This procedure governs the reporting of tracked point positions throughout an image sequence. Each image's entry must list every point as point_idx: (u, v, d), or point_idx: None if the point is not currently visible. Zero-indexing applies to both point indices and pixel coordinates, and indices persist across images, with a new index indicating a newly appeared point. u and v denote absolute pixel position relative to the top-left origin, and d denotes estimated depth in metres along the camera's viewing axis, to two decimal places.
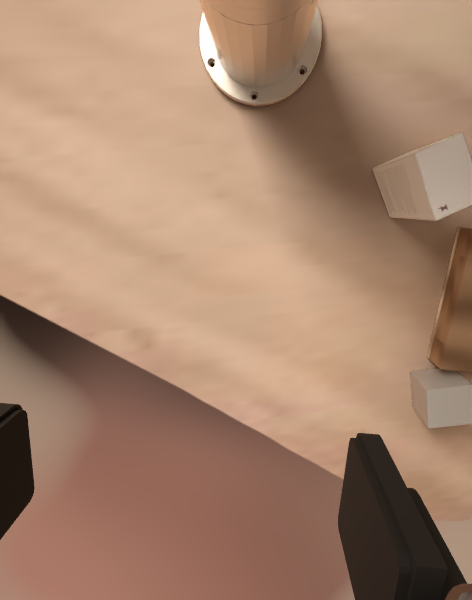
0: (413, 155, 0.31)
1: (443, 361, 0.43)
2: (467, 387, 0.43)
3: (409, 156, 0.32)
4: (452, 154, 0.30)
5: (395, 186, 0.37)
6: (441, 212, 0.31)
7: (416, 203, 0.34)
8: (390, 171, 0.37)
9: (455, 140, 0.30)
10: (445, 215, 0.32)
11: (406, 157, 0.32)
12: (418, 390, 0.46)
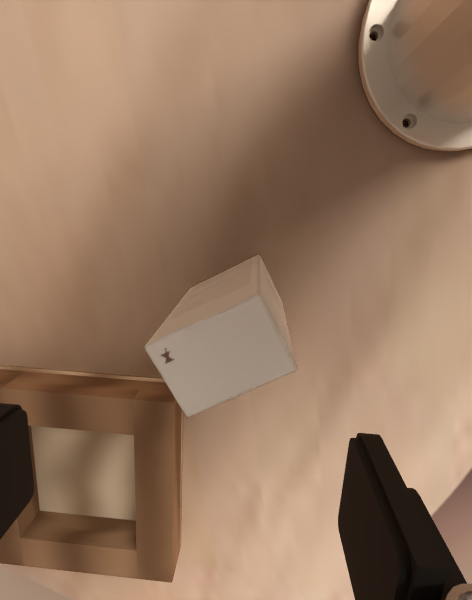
0: (257, 293, 0.16)
1: None
2: None
3: (257, 288, 0.17)
4: (258, 359, 0.17)
5: (223, 282, 0.23)
6: (158, 354, 0.17)
7: (185, 313, 0.20)
8: (246, 272, 0.23)
9: (282, 360, 0.17)
10: (154, 361, 0.17)
11: (257, 285, 0.18)
12: None
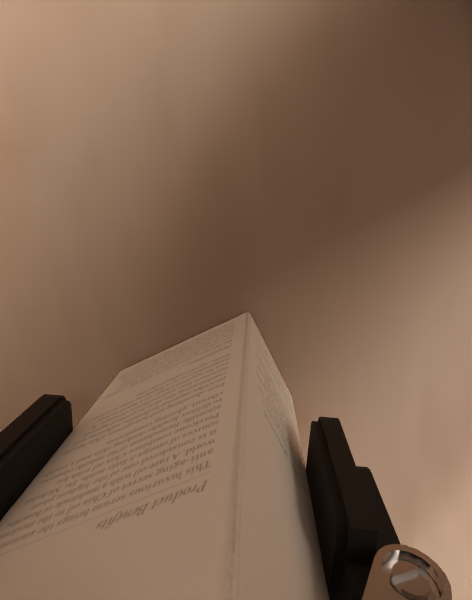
0: None
1: None
2: None
3: (225, 592, 0.04)
4: None
5: (161, 404, 0.10)
6: None
7: (17, 557, 0.06)
8: (213, 383, 0.09)
9: None
10: None
11: (229, 539, 0.05)
12: None
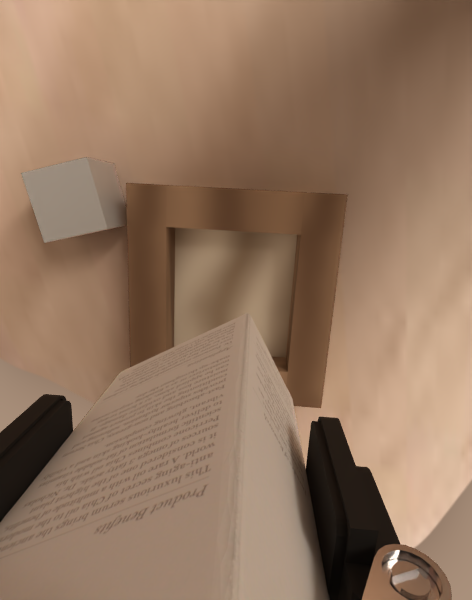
0: None
1: (138, 186, 0.28)
2: (102, 222, 0.27)
3: None
4: None
5: (161, 406, 0.10)
6: None
7: (16, 562, 0.06)
8: (213, 385, 0.09)
9: None
10: None
11: (229, 546, 0.05)
12: None
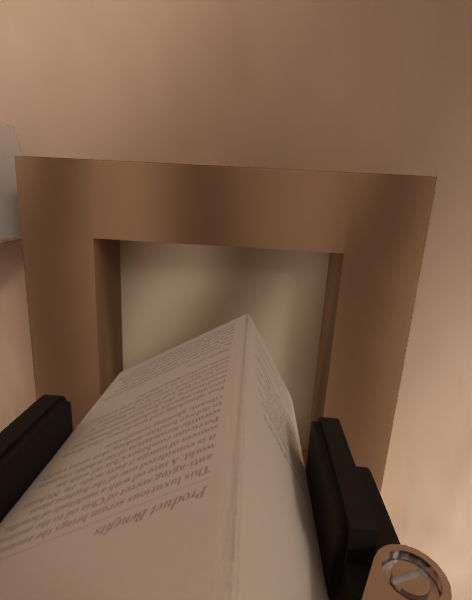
0: None
1: (37, 162, 0.15)
2: None
3: None
4: None
5: (160, 407, 0.10)
6: None
7: (15, 563, 0.06)
8: (213, 386, 0.09)
9: None
10: None
11: (229, 548, 0.05)
12: None
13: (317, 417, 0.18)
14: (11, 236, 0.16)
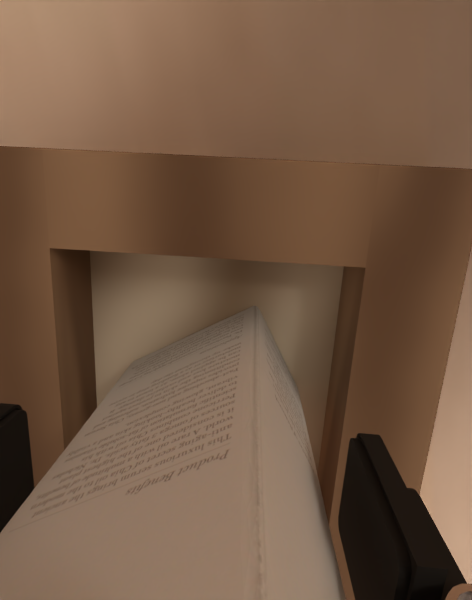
0: None
1: None
2: None
3: (253, 535, 0.05)
4: None
5: (177, 388, 0.10)
6: None
7: (52, 521, 0.07)
8: (227, 368, 0.10)
9: None
10: None
11: (254, 495, 0.05)
12: None
13: (328, 463, 0.15)
14: None
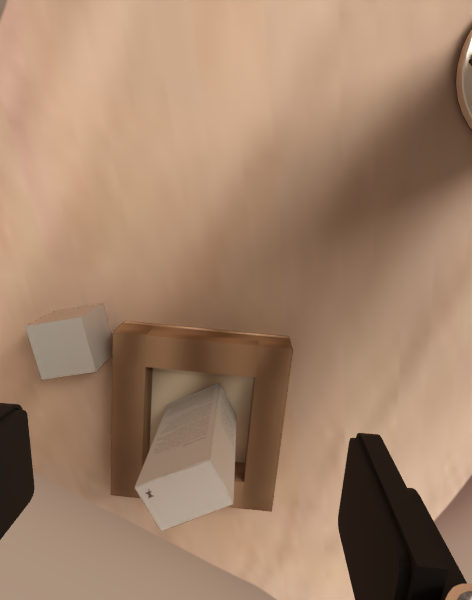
0: (208, 457, 0.26)
1: (122, 335, 0.33)
2: (91, 366, 0.33)
3: (209, 449, 0.27)
4: (208, 497, 0.26)
5: (191, 419, 0.32)
6: (143, 492, 0.26)
7: (163, 453, 0.29)
8: (207, 413, 0.32)
9: (224, 498, 0.26)
10: (141, 496, 0.27)
11: (210, 444, 0.27)
12: (78, 312, 0.34)
13: (247, 447, 0.37)
14: (105, 361, 0.35)
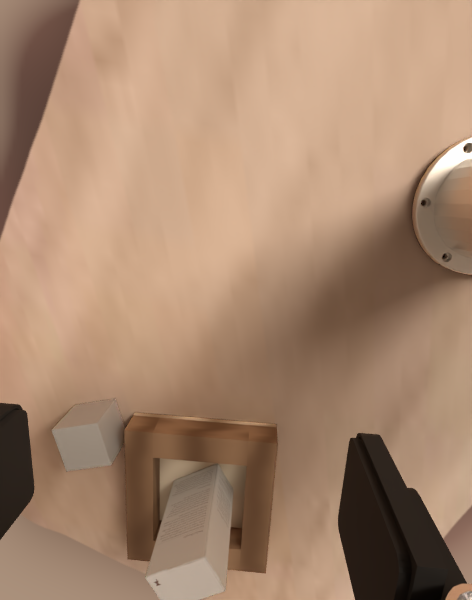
0: (203, 555, 0.32)
1: (132, 432, 0.39)
2: (107, 461, 0.39)
3: (205, 546, 0.33)
4: (205, 586, 0.32)
5: (192, 505, 0.38)
6: (152, 581, 0.33)
7: (168, 543, 0.35)
8: (205, 501, 0.38)
9: (217, 586, 0.32)
10: (150, 584, 0.33)
11: (206, 539, 0.33)
12: (95, 411, 0.40)
13: None
14: (118, 451, 0.41)
